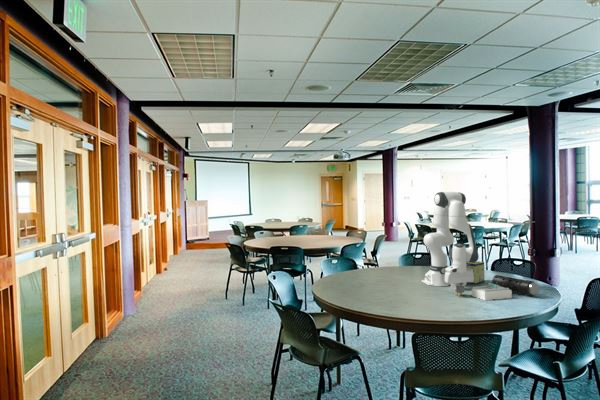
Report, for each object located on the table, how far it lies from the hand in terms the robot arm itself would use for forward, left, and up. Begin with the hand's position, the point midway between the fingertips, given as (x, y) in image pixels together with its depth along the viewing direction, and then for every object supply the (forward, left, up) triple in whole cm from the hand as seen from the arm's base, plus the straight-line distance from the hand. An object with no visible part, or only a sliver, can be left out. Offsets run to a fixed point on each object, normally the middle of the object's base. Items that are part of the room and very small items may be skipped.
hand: (459, 289), depth 256 cm
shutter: (+10, +20, +1) cm, 23 cm away
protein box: (-30, +34, -4) cm, 46 cm away
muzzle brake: (+6, +38, -4) cm, 39 cm away
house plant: (-15, +8, -4) cm, 17 cm away
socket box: (+10, +16, -4) cm, 20 cm away
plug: (0, 0, -4) cm, 4 cm away
